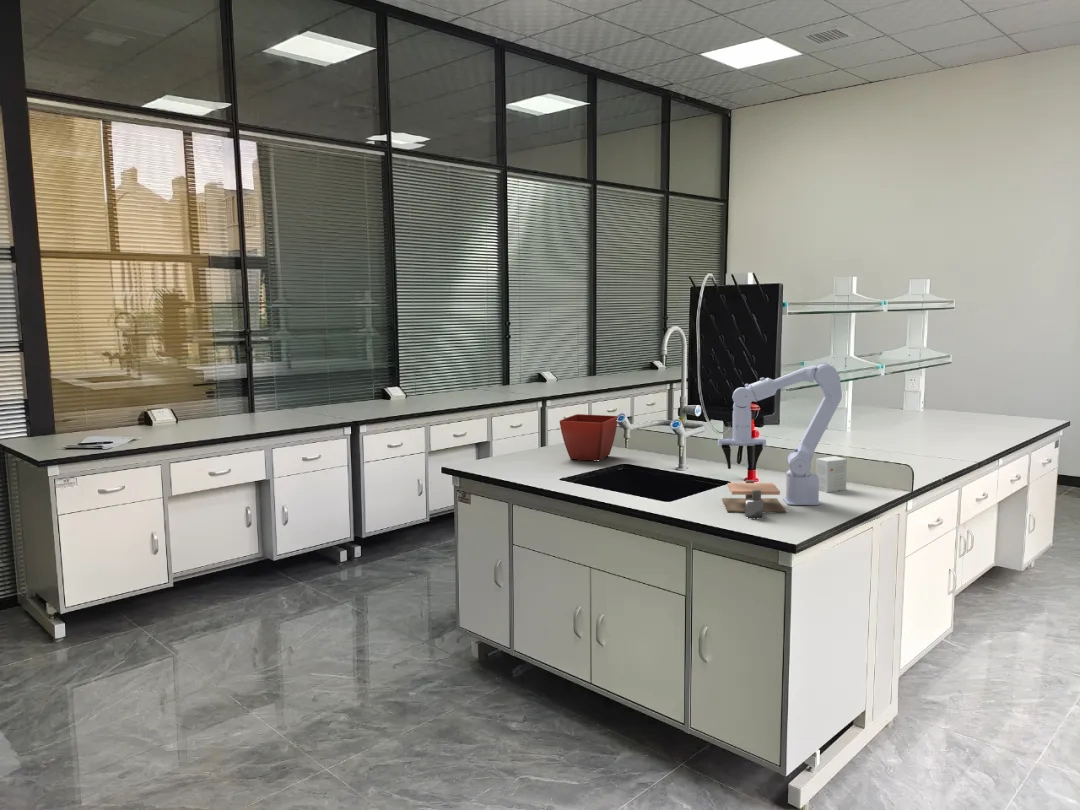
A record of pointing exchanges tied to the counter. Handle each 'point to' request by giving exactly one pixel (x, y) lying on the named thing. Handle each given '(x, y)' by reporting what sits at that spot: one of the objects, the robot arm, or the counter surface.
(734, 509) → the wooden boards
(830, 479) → the small box
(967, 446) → the counter surface
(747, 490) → the tipping door
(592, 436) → the plant pot
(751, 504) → the block
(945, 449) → the counter surface
